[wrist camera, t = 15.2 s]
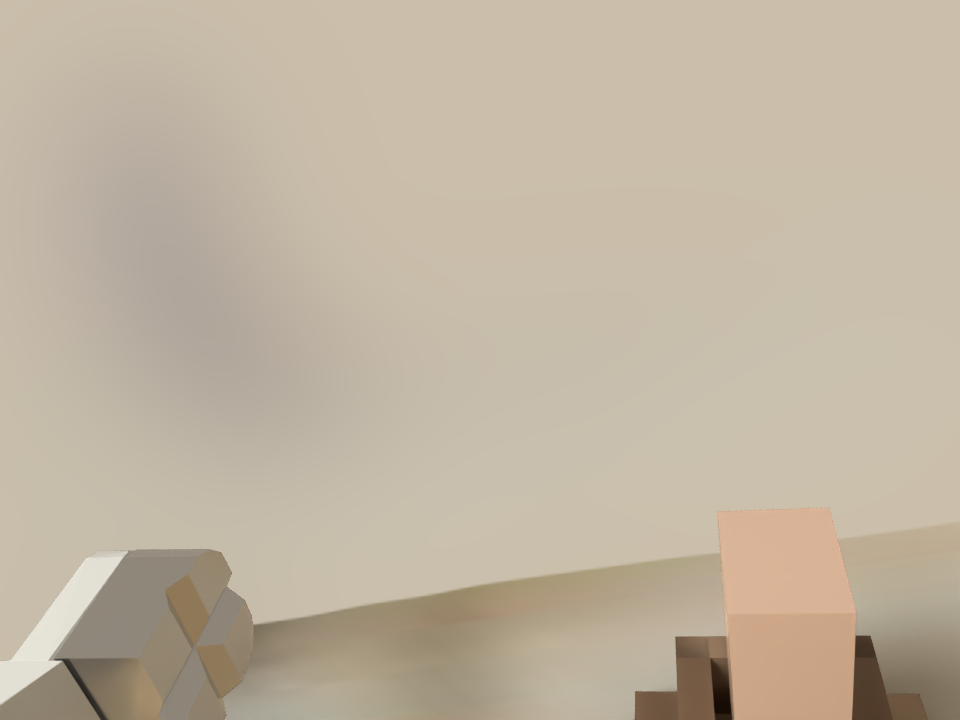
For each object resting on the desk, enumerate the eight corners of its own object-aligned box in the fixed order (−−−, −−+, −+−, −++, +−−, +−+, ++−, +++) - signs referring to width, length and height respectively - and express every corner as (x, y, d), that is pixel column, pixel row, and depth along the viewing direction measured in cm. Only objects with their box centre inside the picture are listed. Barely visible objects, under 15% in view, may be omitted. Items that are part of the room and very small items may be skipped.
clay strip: (743, 847, 36) (727, 614, 29) (733, 739, 40) (717, 511, 33) (846, 853, 35) (856, 612, 28) (825, 741, 39) (829, 507, 32)
